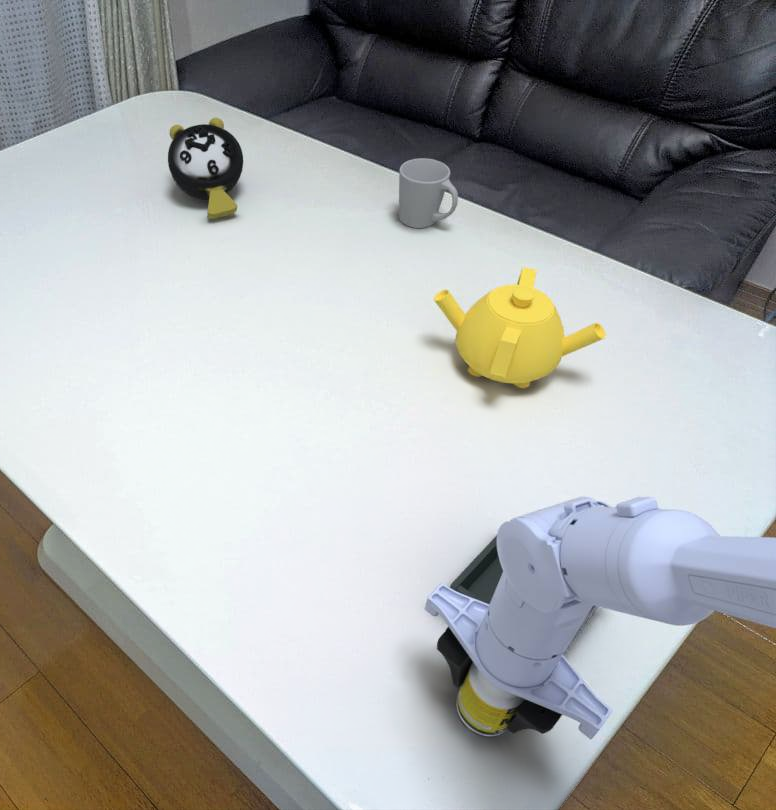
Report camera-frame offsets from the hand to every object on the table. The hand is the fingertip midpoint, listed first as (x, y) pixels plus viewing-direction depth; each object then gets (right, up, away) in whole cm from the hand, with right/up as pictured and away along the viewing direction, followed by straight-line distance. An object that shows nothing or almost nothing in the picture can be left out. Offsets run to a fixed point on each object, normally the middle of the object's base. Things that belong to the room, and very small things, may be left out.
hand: (489, 700), depth 62 cm
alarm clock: (-26, +60, +63) cm, 91 cm away
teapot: (+13, +30, +32) cm, 46 cm away
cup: (+9, +54, +55) cm, 78 cm away
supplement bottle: (0, -1, +2) cm, 2 cm away
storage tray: (+6, +5, +8) cm, 11 cm away
